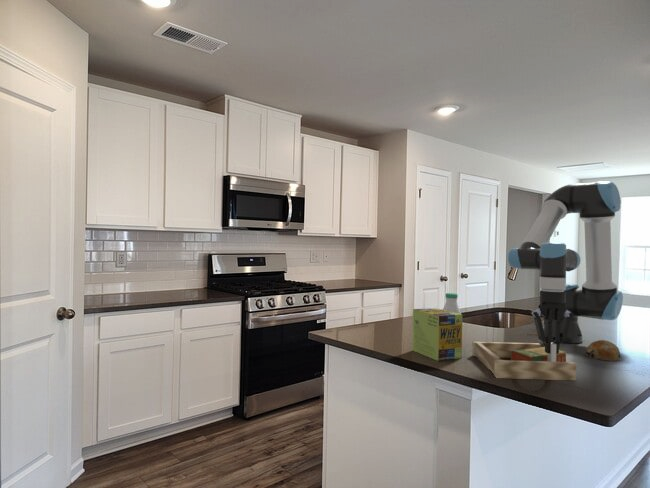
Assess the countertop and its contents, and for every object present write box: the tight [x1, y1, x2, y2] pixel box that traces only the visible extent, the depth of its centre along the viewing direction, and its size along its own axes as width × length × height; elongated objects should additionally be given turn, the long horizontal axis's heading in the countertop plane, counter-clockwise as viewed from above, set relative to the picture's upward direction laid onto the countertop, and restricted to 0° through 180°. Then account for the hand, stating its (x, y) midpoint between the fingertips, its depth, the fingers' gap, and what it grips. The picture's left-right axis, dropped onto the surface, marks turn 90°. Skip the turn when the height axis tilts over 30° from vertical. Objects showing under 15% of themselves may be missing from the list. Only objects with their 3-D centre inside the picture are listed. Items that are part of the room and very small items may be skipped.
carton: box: [510, 346, 567, 362], centre depth 144 cm, size 8×16×4 cm, turn 112°
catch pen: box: [471, 341, 577, 381], centre depth 140 cm, size 23×25×5 cm
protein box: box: [411, 307, 463, 362], centre depth 154 cm, size 10×15×16 cm
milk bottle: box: [442, 292, 462, 314], centre depth 170 cm, size 8×8×20 cm
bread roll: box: [585, 339, 622, 362], centre depth 152 cm, size 10×10×8 cm
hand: (551, 363), depth 138 cm, fingers closed
